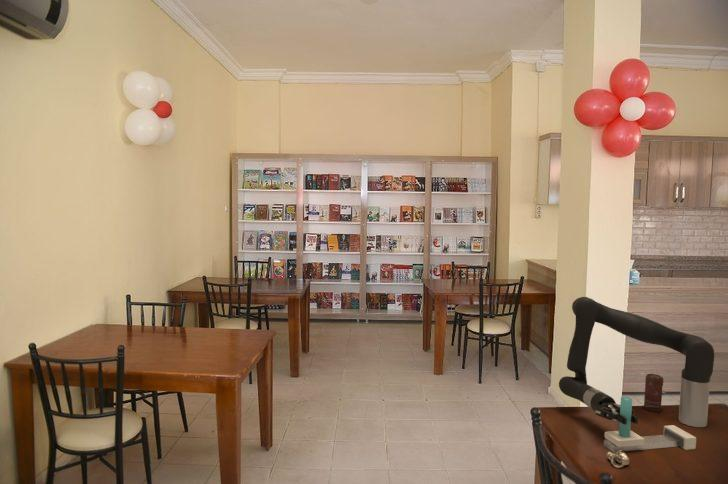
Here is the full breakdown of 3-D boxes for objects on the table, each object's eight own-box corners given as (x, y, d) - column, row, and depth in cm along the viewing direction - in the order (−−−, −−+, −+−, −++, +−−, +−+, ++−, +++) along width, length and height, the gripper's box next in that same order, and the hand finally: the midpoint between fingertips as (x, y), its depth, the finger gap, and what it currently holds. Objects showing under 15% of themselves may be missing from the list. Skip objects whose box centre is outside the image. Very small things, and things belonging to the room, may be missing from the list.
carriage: (629, 435, 181) (632, 394, 180) (644, 444, 174) (646, 401, 173) (604, 437, 179) (606, 395, 178) (618, 446, 172) (620, 403, 171)
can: (663, 412, 207) (666, 379, 206) (646, 411, 208) (648, 377, 207) (658, 407, 213) (660, 374, 211) (641, 405, 214) (643, 372, 213)
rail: (667, 439, 183) (667, 434, 183) (678, 446, 178) (678, 440, 178) (603, 445, 178) (603, 439, 178) (613, 452, 173) (613, 446, 173)
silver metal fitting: (610, 455, 172) (610, 444, 172) (632, 462, 167) (633, 451, 167) (601, 463, 166) (602, 452, 166) (624, 471, 161) (625, 460, 161)
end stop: (672, 435, 186) (673, 425, 186) (695, 448, 177) (696, 437, 176) (661, 436, 185) (662, 425, 185) (684, 449, 176) (684, 438, 175)
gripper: (582, 392, 188) (613, 412, 172) (616, 390, 191) (650, 409, 174) (581, 412, 189) (612, 433, 172) (615, 410, 192) (649, 430, 175)
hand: (631, 421), depth 173 cm, fingers closed on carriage, 3 cm apart
